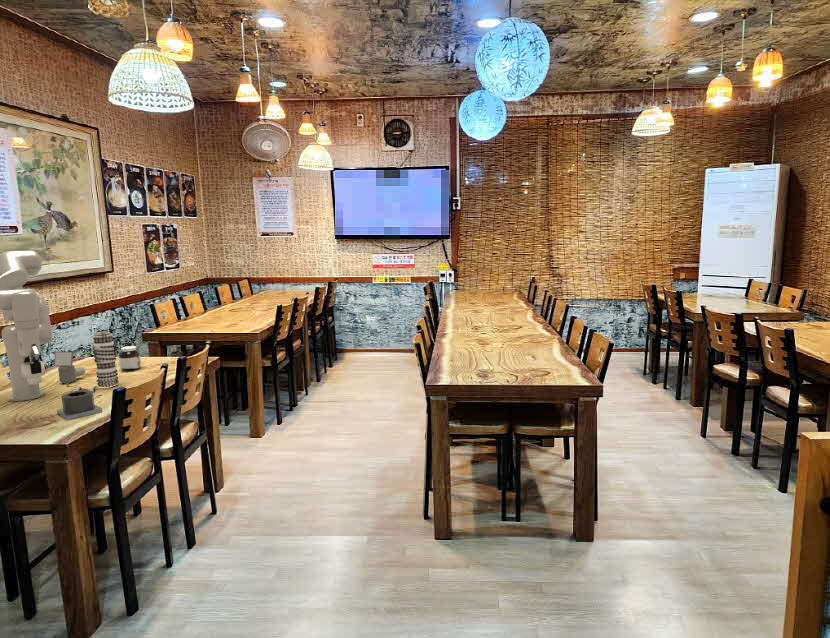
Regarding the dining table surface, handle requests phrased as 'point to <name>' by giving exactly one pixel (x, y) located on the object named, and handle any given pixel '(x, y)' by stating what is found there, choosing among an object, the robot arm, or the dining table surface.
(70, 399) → the gray square-based holder
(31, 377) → the cup
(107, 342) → the decorative candle
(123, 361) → the spread jar
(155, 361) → the dining table surface
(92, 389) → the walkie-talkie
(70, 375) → the camera
